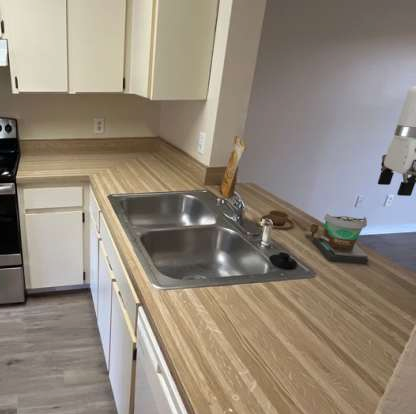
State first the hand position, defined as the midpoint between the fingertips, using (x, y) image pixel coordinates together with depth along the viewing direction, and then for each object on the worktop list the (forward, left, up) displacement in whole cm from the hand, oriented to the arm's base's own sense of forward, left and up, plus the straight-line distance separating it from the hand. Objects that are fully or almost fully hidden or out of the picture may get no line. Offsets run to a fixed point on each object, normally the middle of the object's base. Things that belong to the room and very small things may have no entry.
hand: (393, 189), depth 99 cm
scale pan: (+6, -4, -23) cm, 24 cm away
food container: (+7, -4, -22) cm, 24 cm away
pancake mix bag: (+34, -59, -26) cm, 73 cm away
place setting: (+20, -21, -26) cm, 39 cm away
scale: (+7, -4, -26) cm, 27 cm away
